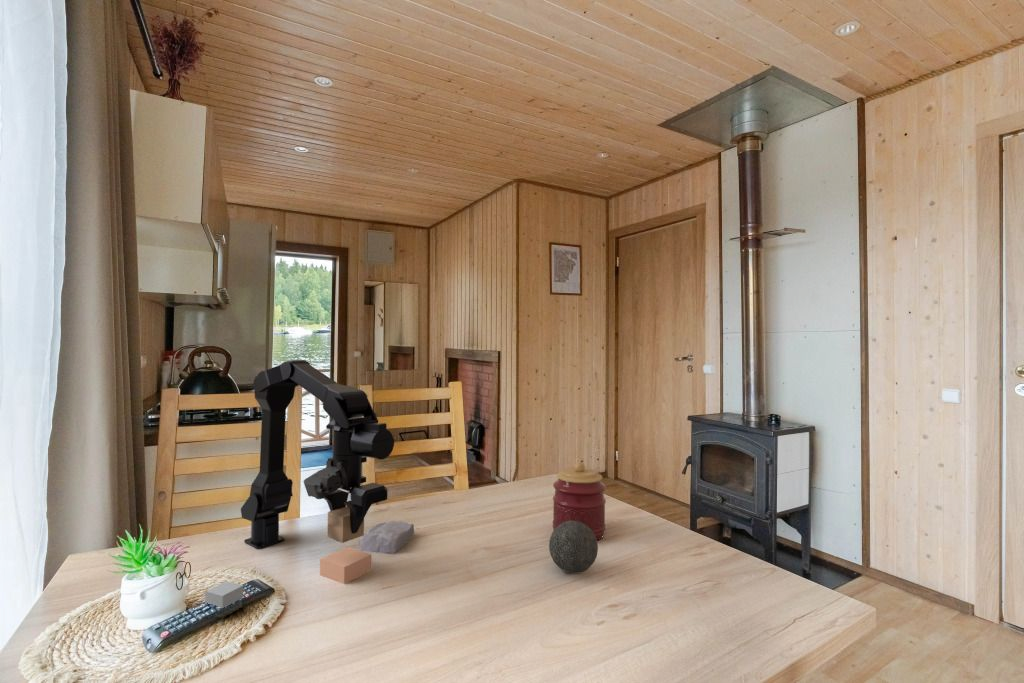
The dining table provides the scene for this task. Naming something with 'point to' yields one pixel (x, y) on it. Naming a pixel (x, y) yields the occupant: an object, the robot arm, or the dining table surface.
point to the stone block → (387, 537)
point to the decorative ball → (573, 546)
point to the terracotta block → (345, 565)
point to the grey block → (224, 594)
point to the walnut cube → (342, 525)
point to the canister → (580, 498)
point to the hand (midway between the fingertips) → (346, 529)
